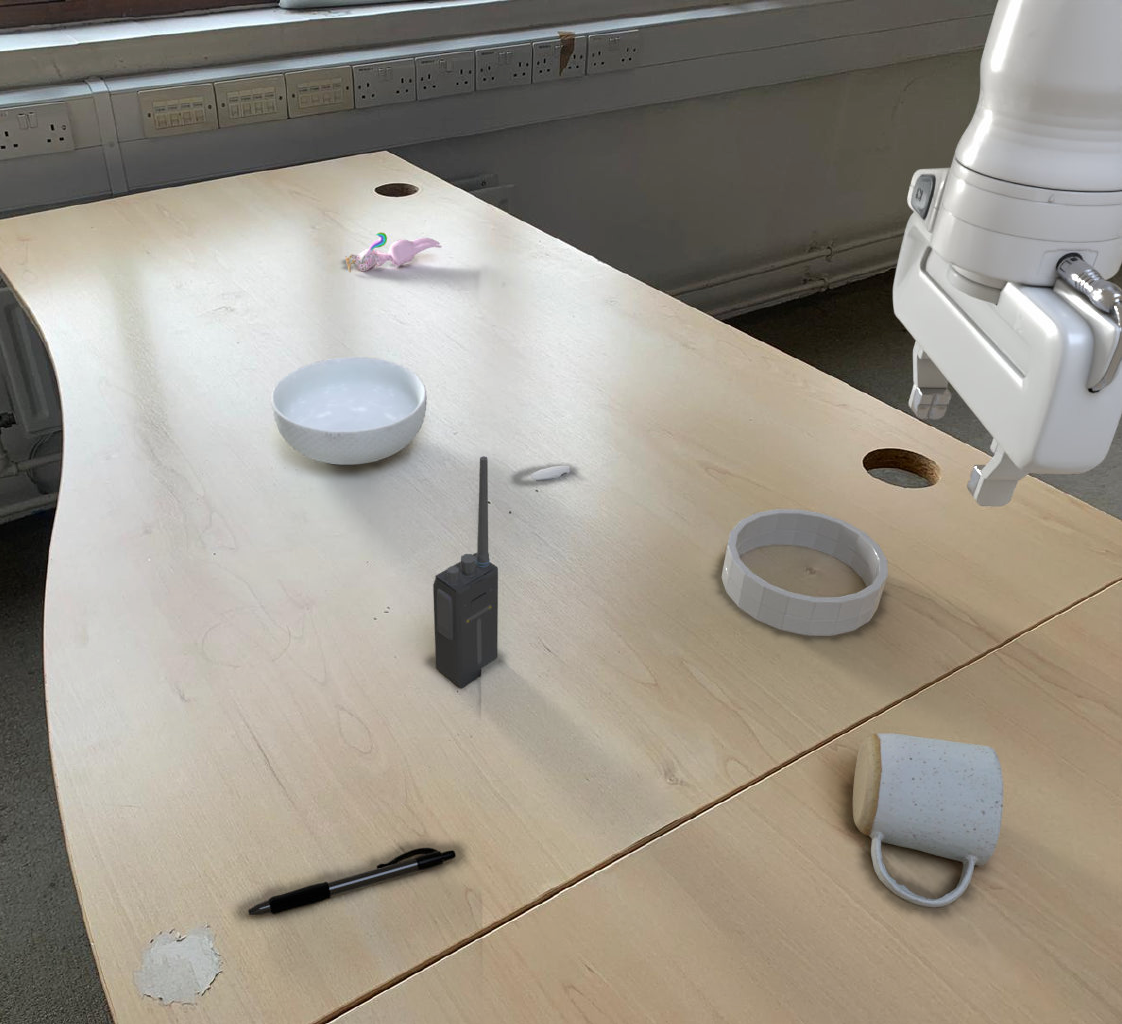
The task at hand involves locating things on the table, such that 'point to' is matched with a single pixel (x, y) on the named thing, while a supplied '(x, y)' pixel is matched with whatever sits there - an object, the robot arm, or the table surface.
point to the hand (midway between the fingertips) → (953, 453)
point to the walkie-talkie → (468, 605)
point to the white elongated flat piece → (550, 473)
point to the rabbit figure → (390, 252)
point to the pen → (354, 881)
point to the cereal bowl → (349, 409)
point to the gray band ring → (796, 608)
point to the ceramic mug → (928, 803)
